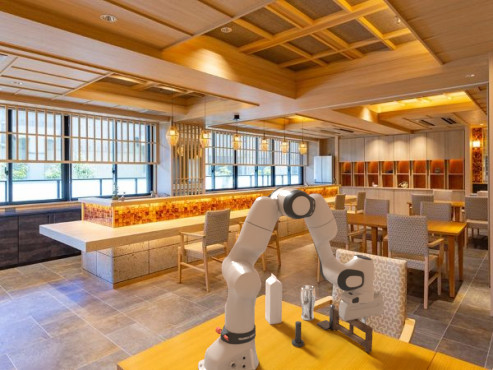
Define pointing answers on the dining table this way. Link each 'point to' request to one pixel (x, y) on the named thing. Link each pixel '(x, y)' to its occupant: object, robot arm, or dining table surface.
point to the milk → (273, 300)
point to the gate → (350, 333)
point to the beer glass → (307, 302)
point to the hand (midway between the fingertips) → (361, 326)
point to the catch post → (297, 335)
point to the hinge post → (328, 324)
